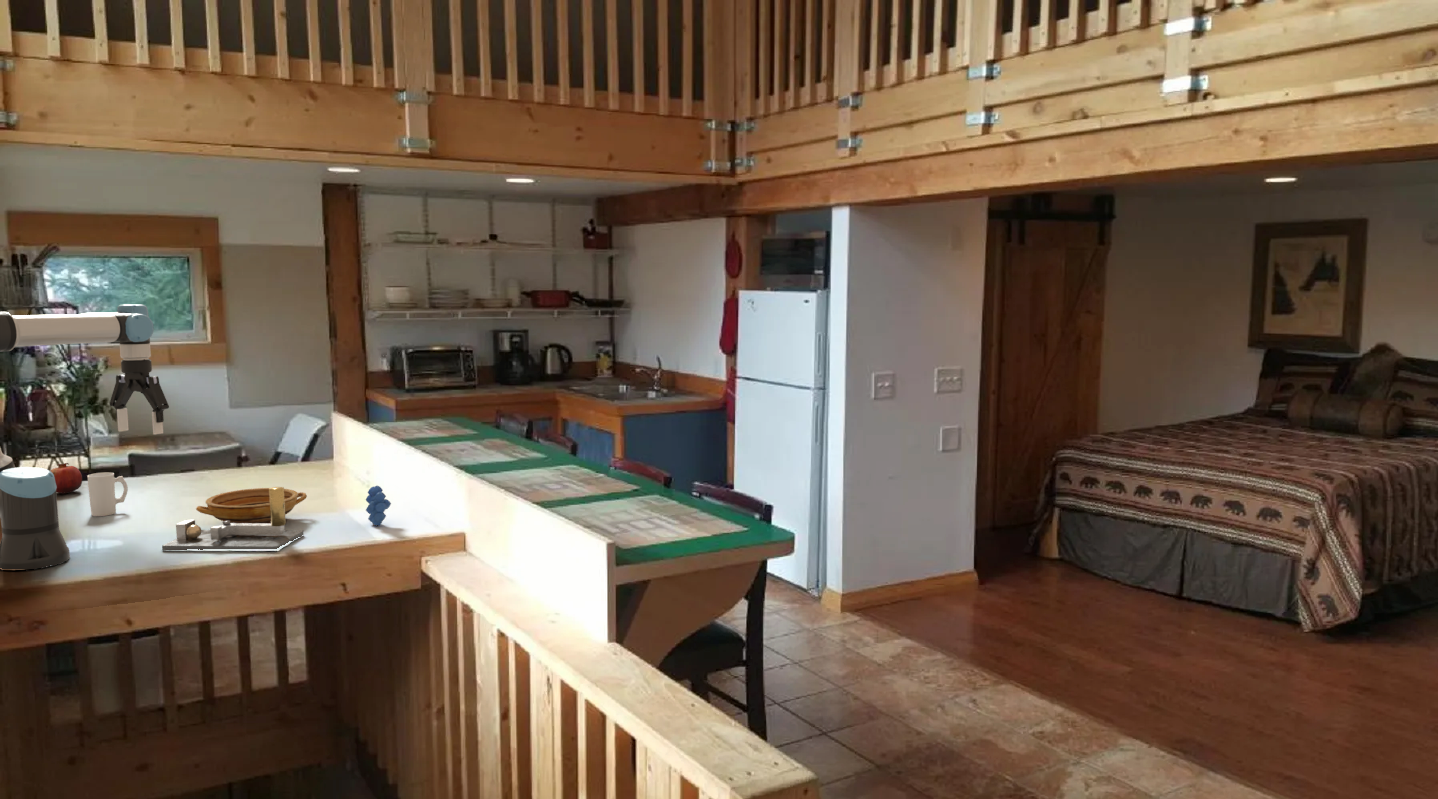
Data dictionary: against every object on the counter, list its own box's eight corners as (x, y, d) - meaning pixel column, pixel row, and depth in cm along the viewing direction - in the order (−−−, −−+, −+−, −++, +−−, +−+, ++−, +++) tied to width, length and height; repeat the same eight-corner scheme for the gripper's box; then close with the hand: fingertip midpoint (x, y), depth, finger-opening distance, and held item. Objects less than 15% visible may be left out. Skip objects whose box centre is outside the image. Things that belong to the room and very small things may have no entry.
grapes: (399, 527, 282) (397, 486, 280) (375, 531, 277) (373, 489, 276) (385, 519, 291) (383, 479, 289) (361, 523, 287) (360, 482, 285)
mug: (91, 517, 291) (88, 477, 290) (88, 513, 297) (85, 474, 295) (131, 512, 298) (128, 473, 296) (127, 508, 303) (124, 470, 301)
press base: (277, 552, 257) (275, 531, 256) (162, 551, 257) (161, 530, 256) (303, 535, 272) (302, 516, 272) (195, 535, 273) (194, 515, 272)
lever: (274, 540, 260) (271, 493, 258) (211, 539, 260) (208, 493, 258) (288, 532, 268) (286, 486, 266) (227, 531, 268) (224, 486, 267)
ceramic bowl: (208, 541, 267) (206, 512, 266) (187, 523, 285) (186, 496, 284) (320, 523, 286) (319, 496, 285) (294, 508, 304) (293, 482, 303)
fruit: (66, 497, 317) (63, 467, 316) (38, 496, 319) (36, 466, 318) (92, 490, 328) (89, 460, 327) (65, 489, 329) (63, 459, 328)
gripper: (180, 359, 281) (184, 433, 283) (116, 356, 289) (121, 428, 292) (156, 361, 274) (161, 436, 276) (92, 358, 282) (97, 431, 285)
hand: (140, 432), depth 284 cm, fingers open, 13 cm apart
